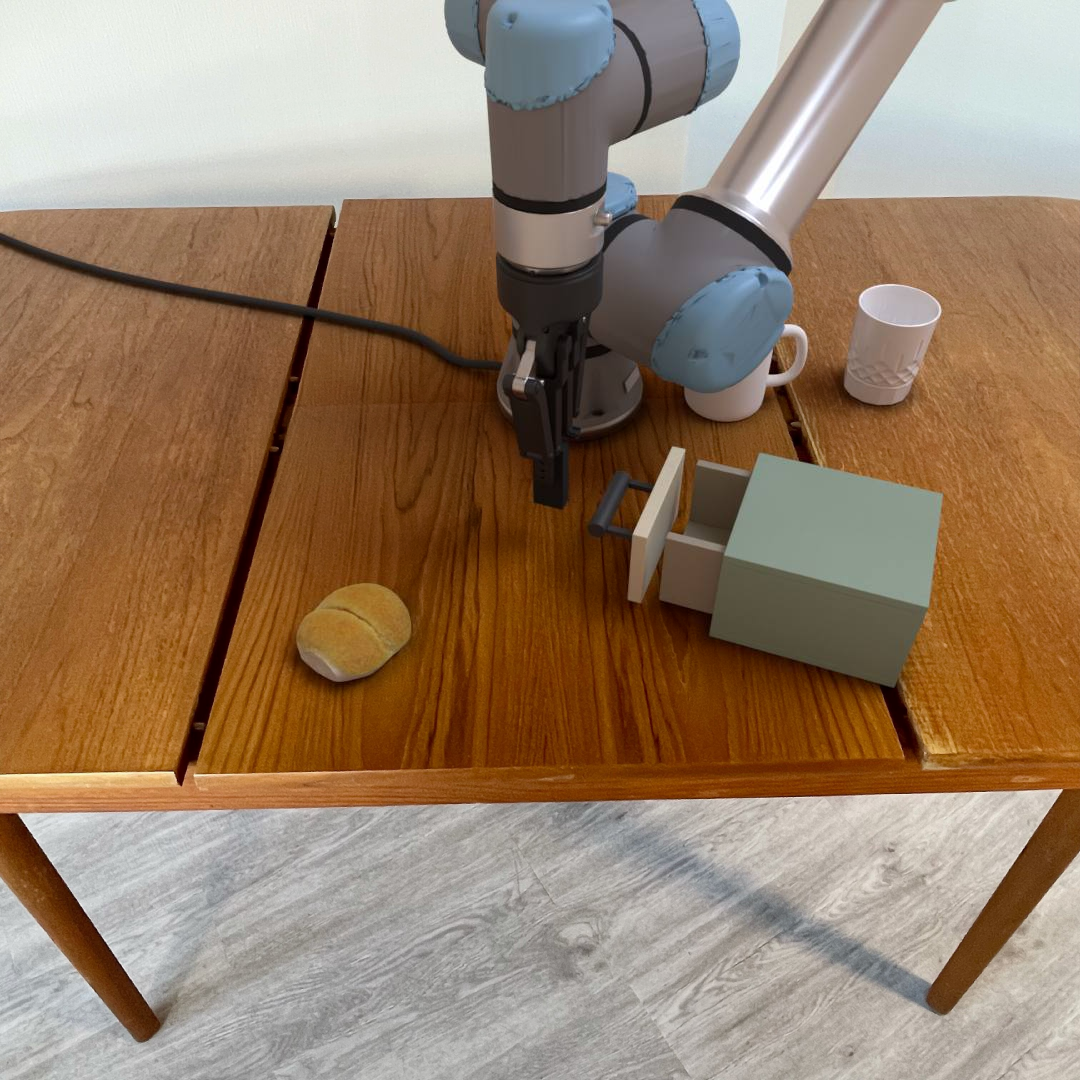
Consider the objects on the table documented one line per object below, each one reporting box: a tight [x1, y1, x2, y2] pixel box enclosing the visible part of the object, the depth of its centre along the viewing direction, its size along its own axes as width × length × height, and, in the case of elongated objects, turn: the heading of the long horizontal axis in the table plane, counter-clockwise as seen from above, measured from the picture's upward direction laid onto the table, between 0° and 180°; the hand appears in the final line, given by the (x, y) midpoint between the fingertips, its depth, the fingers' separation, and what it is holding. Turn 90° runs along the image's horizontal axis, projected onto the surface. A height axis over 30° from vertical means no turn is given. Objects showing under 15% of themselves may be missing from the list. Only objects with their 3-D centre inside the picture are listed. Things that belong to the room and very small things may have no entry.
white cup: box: [843, 283, 942, 406], centre depth 95 cm, size 8×8×10 cm
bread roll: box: [295, 582, 412, 683], centre depth 74 cm, size 8×9×4 cm
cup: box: [683, 323, 809, 423], centre depth 94 cm, size 8×12×10 cm
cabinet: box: [708, 452, 944, 688], centre depth 74 cm, size 15×13×10 cm
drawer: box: [587, 446, 753, 615], centre depth 77 cm, size 18×11×8 cm, turn 69°
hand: (551, 500), depth 80 cm, fingers closed
